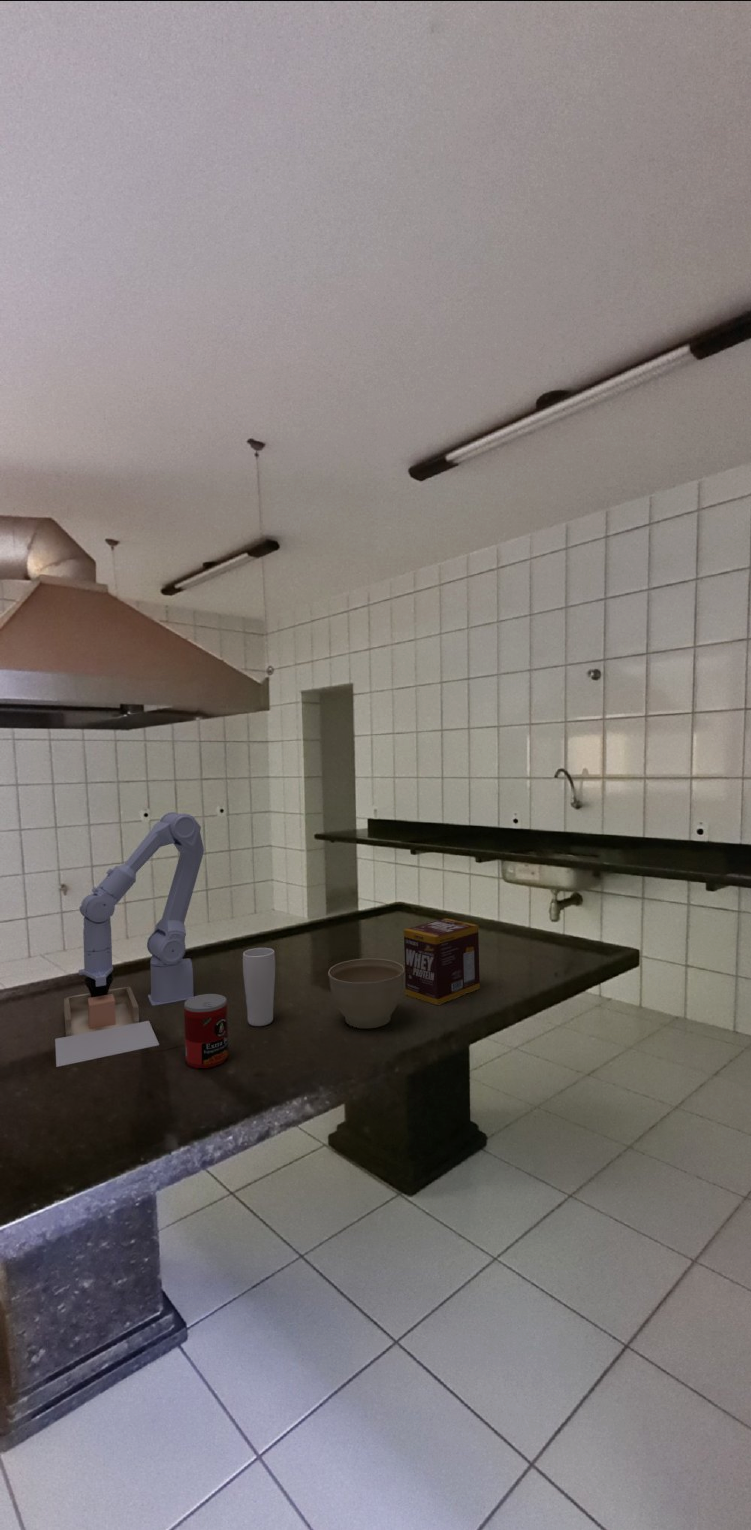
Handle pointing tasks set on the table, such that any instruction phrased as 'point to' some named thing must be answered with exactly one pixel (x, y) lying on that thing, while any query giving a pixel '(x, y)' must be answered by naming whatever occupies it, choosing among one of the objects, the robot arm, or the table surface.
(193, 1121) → the table surface
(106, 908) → the robot arm
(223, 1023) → the canned food
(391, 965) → the planter bowl
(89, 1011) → the block
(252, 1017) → the drinking glass
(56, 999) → the table surface
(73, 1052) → the mat
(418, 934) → the supplement box
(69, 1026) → the open box
